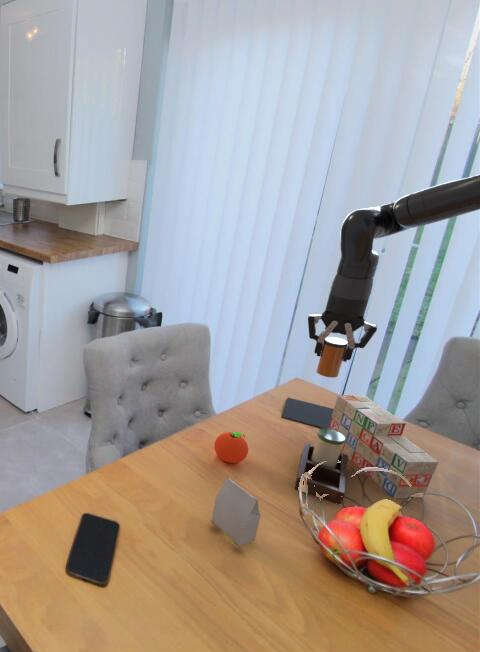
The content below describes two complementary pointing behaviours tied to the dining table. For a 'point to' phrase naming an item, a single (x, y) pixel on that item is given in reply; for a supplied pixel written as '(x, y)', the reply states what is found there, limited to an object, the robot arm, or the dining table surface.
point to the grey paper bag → (236, 513)
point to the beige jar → (328, 447)
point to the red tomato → (231, 447)
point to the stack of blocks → (381, 446)
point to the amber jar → (331, 356)
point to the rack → (323, 476)
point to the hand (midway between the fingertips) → (331, 357)
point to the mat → (307, 413)
